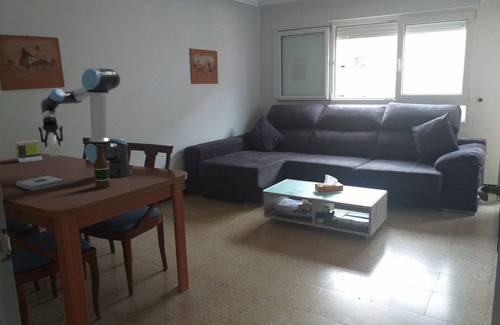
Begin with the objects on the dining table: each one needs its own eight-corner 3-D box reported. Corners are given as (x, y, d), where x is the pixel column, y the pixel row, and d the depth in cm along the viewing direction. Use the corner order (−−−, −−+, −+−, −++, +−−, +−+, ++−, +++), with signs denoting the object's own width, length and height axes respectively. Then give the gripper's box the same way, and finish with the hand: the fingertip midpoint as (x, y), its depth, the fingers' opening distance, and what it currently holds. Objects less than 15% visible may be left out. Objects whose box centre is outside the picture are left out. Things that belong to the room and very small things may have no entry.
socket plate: (64, 183, 221) (64, 179, 221) (32, 190, 207) (31, 186, 206) (48, 179, 231) (47, 175, 231) (16, 186, 217) (15, 181, 216)
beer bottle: (105, 184, 219) (102, 142, 214) (113, 186, 214) (109, 143, 209) (92, 187, 213) (88, 144, 208) (100, 189, 208) (96, 145, 203)
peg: (59, 155, 231) (57, 135, 228) (52, 156, 227) (49, 136, 225) (55, 154, 233) (53, 134, 231) (48, 155, 230) (46, 135, 227)
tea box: (39, 158, 300) (37, 139, 298) (42, 160, 293) (40, 141, 290) (17, 161, 291) (15, 141, 288) (19, 163, 284) (17, 143, 281)
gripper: (65, 123, 244) (69, 152, 233) (34, 124, 236) (37, 155, 225) (65, 115, 238) (69, 145, 227) (32, 116, 230) (36, 147, 219)
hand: (53, 150), depth 226 cm, fingers closed on peg, 4 cm apart
